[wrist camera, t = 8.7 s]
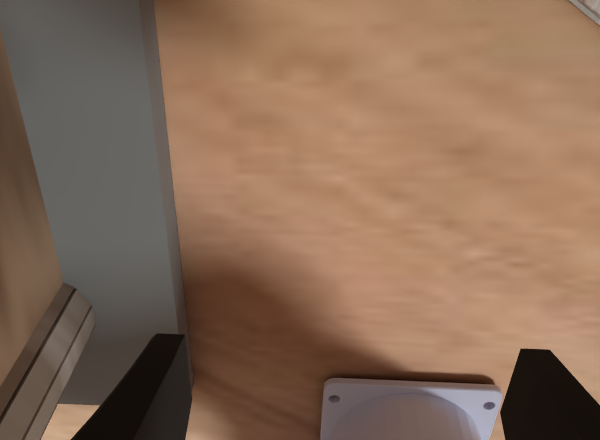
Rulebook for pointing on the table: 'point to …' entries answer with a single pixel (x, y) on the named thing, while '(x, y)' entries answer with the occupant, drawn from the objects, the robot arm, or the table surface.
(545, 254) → the table surface
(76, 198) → the hinge board
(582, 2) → the wrench
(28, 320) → the door
